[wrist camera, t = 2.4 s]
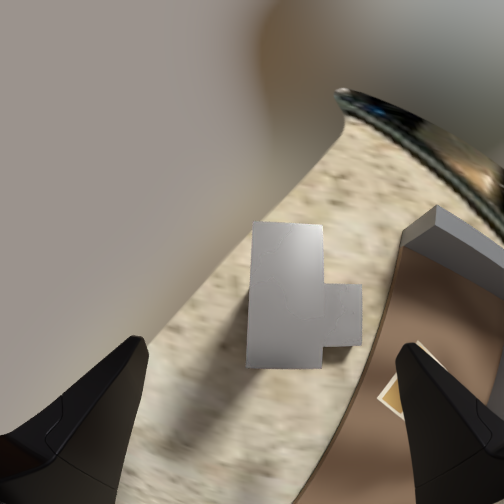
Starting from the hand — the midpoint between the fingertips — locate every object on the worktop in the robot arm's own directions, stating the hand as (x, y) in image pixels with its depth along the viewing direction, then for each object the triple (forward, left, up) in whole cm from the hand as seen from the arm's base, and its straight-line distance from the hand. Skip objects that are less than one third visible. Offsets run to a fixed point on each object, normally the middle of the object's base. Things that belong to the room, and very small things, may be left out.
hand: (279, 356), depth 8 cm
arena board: (0, -16, -9) cm, 18 cm away
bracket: (+3, -2, -9) cm, 10 cm away
